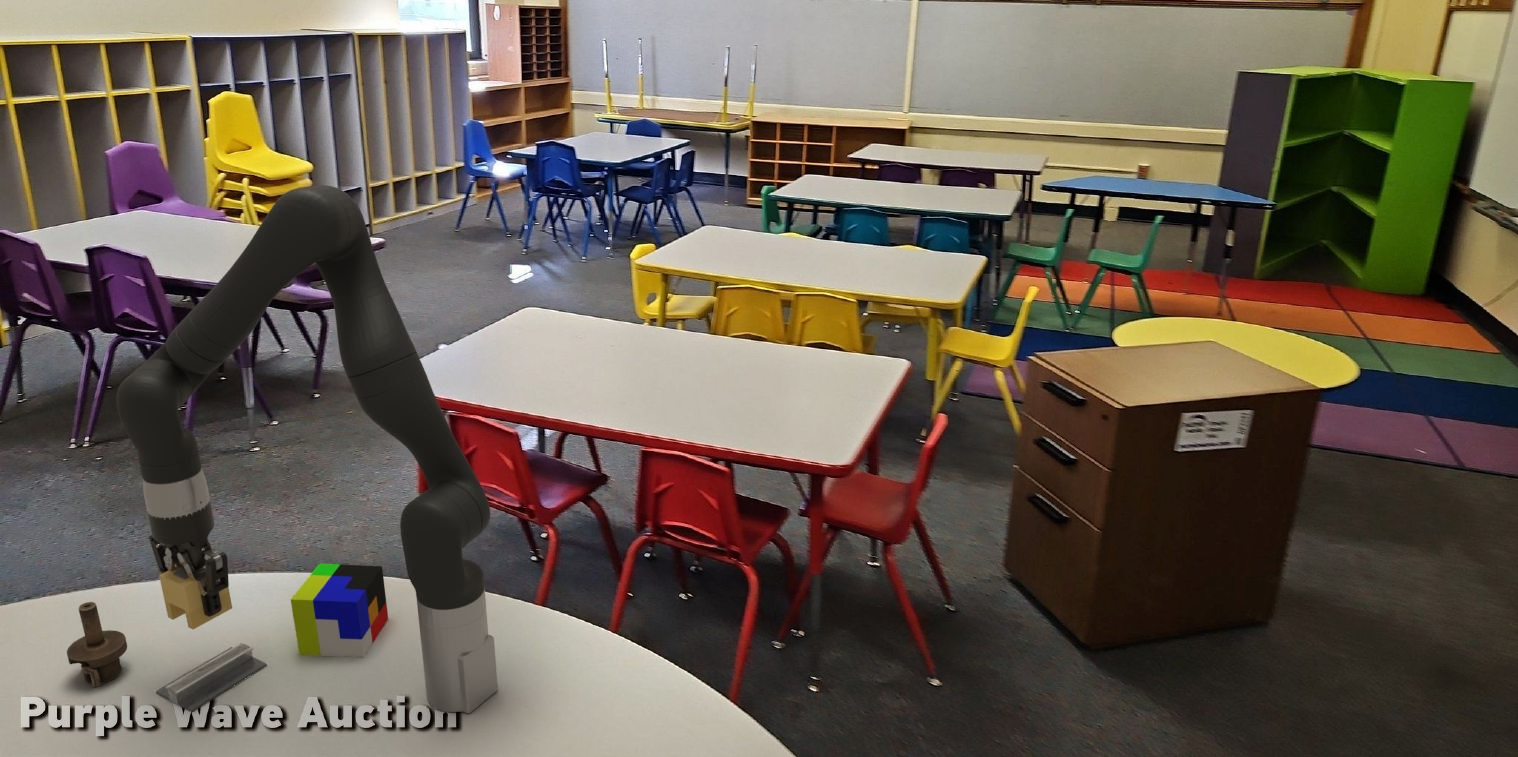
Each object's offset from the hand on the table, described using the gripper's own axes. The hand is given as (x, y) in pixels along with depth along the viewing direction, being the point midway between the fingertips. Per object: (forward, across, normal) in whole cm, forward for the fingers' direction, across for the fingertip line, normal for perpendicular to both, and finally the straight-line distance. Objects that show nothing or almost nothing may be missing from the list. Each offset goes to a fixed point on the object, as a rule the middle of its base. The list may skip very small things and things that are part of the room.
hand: (199, 606), depth 142 cm
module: (+1, 0, 0) cm, 1 cm away
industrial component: (+13, +15, +7) cm, 21 cm away
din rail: (+13, 0, 0) cm, 13 cm away
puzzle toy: (+13, -8, -17) cm, 23 cm away
